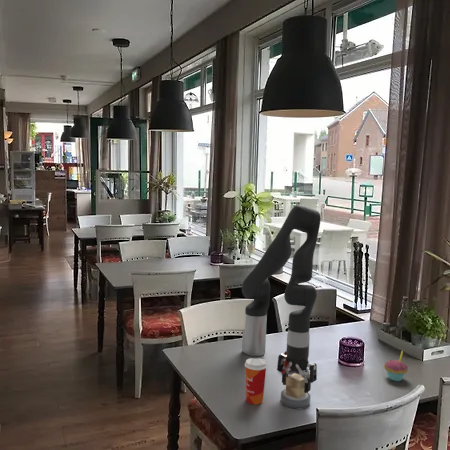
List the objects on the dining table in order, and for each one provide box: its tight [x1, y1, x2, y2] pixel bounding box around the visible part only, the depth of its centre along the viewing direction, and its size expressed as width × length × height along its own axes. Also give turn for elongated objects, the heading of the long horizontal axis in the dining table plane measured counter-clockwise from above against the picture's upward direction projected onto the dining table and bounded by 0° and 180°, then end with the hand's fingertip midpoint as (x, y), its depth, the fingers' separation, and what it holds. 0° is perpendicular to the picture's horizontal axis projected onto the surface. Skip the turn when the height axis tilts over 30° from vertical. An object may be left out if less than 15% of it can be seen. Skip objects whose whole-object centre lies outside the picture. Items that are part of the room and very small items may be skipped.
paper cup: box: [244, 357, 268, 406], centre depth 167 cm, size 8×8×14 cm
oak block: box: [285, 372, 306, 399], centre depth 168 cm, size 5×5×6 cm
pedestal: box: [280, 388, 311, 409], centre depth 168 cm, size 10×10×3 cm
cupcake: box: [383, 349, 409, 382], centre depth 189 cm, size 9×8×12 cm
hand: (295, 388), depth 168 cm, fingers open, 8 cm apart
